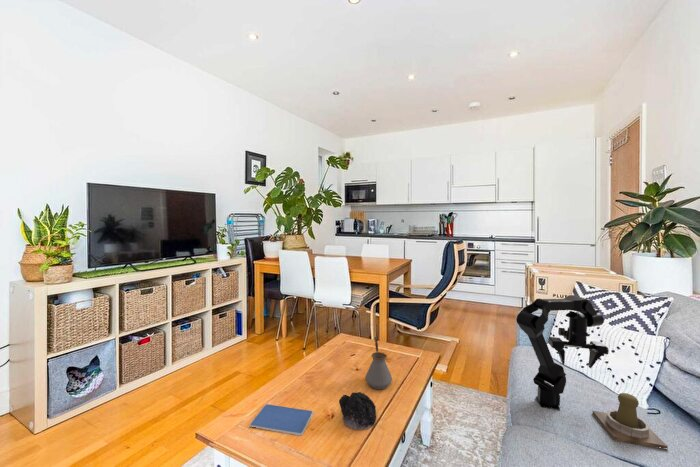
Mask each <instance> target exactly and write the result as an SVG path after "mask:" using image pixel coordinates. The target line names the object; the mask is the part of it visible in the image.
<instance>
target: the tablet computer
mask: <svg viewBox="0 0 700 467" xmlns="http://www.w3.org/2000/svg"><path fill="white" fill-rule="evenodd" d="M313 415H314V410H309V409H301V408H295V407H290V406H282V405H277V404H276V405H275V404H267V403H266V404H264V405H263V406H262V408H261V409H260V411H259V412H258V413H257V414H256V415H255V417H254V418H253V420H252V421H251V422H250V423H249V428H252V427H256V428H255V429H259V428H262V429H261V430H265V429H266V430H267V431H272V432H277V433H282V434H283V433H284V434H288V435H293V436H298V437H301V436H303V435H304V433H305V431H306V429H307V427H308V426H309V423H310V421H311V419H312V417H313ZM251 426H252V427H251ZM266 430H265V431H266Z"/></svg>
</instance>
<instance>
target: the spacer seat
mask: <svg viewBox="0 0 700 467" xmlns="http://www.w3.org/2000/svg"><path fill="white" fill-rule="evenodd" d="M617 412H618V409H611V410H607V412H605V411H597V410H592V415H593V417H594V418H595V419H596V418H597V419H596V420H597V421H598V422H599V424H600V425H601V426H602V428H603V429H604V430H605V431H606V433H607V434H608V435H609V437H610V438H611V439H612V440H613V441H614V442H615V441H616V442H623V443H627V444H633V445H638V446H644V445H645V446H644V447H651V448H655V447H658V448H657V449H661V448H667V449H668V447H669V446H668V444H666V443H665V442H664V441H663V439H661V438H660V437H659V436H658V435H657V434H656V433H655V432H654V431H653V430H652V429H651V428H650V425H649V423H648V422H646V421H645V420H644V419H643V418H640V417H639V416H637V419H638V428H639V429H636V428H631V427H628V426H625V425H622V424H620V423H619V422H617V421H615V420H616V416H617ZM659 447H661V448H659Z"/></svg>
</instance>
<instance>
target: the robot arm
mask: <svg viewBox="0 0 700 467" xmlns="http://www.w3.org/2000/svg"><path fill="white" fill-rule="evenodd" d="M538 310H541V314H540V316H539V315H536V314H534V312H537V311H538ZM551 311H569V312H567V313H566V314H565V317H567V318H569V320H568V321H569V322H568V327H567V329H566V328H565V327H558V333H557V334H558V336H561V337H563V339H565V340H566V341H565V340H562V338H560V337H555V336H554V337H553V336H549V337H548V340H547V342H546V339H545V337H544V334H543V333H544V331H545V328H546V327H545V325H546V323H548V321H549V313H550V312H551ZM515 320H516V323H517V325H518V326H519V328H520V329H521V330H522V331H523V333H525V334H526V335H527V337H528V338H529V341H530V344H531V346H532V348H533V350H534V353H535V356H536V358H537V360H538V363H539V366H538V369H537V370H538V372H537V373H536V375H535V376H534V377H533V379H532V380H533V383H534V384H535V385H536V386H537V396H535V399H536V401H537V402H538V404H539V406H540V407H541V408H546V409H553V410H559V411H560V410H561V407H560V405H561V395H562V394H564V390H565V387H566V384H567V377H566V376H567V374H566V372H565V370H564V369H565V368H564V367H563V366H564V365H565V360H566V358H565V357H566V355H565V354H566V350H565V347H569V348H570V347H571V348H578V349H588V350H589V355H588V357H589V358H588V368H589V369H592V368H593V366H594V365H595V364H596V363H597V361H598V360H599V359H600V358H601V357H604V356H605V355H609V352H610V351H609V347H608V346H607V345H605V344H604V343H603V342H602V341H596V340H595V341H594V340H591V341H589V343H587V337H588V336H589V333H588V328H592V327H599V326H600V327H601V326H602V325H604V322H605V318H604V316H603V315H602V314H601V313H600V309H597V308H594V306H593V304H592V302H591V300H590V299H589V298H585V297H581V296H578V295H574V294H570V295H567V296H565V297H564V298H536V299H534V301H533V302H532V303H530V304H528V305H526V306H525V307H523V308H522V309H521V310H520V312H518V313H517V315H516V319H515ZM547 343H548V344H547ZM548 345H550V347H551V348H552V349H554V350H555V351H557V354H558V356H559V359H560V362H561V364H562V365H563V366H562V365H561V364H558V363H556V362H555V361H554V358H553V356H552V353H551V351H550V349H549V346H548Z"/></svg>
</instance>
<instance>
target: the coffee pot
mask: <svg viewBox="0 0 700 467" xmlns="http://www.w3.org/2000/svg"><path fill="white" fill-rule="evenodd" d="M374 342H375V345H374V346H375V351H376V352H373V353H372V354H371V358H372V362H371V364H370V366H369V368H368V369H367V372H366V374H365V381H366V383H367V384H368V385H369V386H370V387H371V388H372V389H374V390H385V389H386V388H388V387H389V386H390V385H391V384H392V381H393V377H392V374H391V372H390V369H389V367H388V365H387V362H386V359H387V357H388V355H387V354H386V353H384V352H379V344H378V337H376V336H375V337H374Z"/></svg>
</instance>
